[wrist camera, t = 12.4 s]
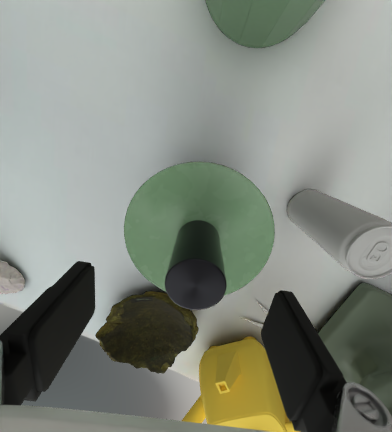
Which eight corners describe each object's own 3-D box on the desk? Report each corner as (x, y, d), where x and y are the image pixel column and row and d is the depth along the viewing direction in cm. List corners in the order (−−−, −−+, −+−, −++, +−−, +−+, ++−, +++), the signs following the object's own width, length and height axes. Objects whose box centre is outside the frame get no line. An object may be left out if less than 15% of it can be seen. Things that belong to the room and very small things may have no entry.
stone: (3, 291, 33) (-7, 301, 31) (-31, 256, 30) (-43, 265, 28) (35, 283, 33) (28, 292, 32) (6, 247, 30) (-4, 255, 28)
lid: (99, 217, 18) (38, 261, 12) (218, 126, 15) (229, 113, 9) (184, 309, 22) (175, 386, 15) (295, 249, 19) (347, 310, 12)
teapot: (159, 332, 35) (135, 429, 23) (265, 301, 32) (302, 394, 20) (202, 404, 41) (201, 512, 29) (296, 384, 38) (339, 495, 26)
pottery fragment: (127, 280, 28) (137, 265, 32) (86, 350, 31) (99, 329, 35) (211, 324, 29) (210, 305, 33) (163, 388, 32) (167, 363, 36)
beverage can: (278, 217, 27) (332, 270, 16) (296, 182, 25) (369, 215, 14) (311, 228, 27) (386, 288, 16) (331, 195, 26) (429, 236, 15)
